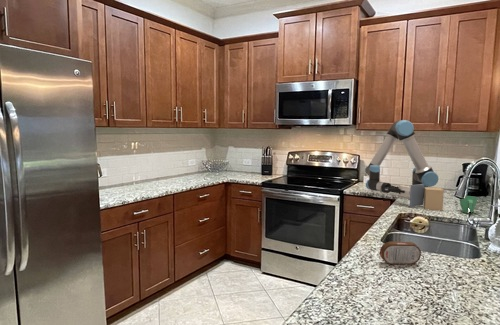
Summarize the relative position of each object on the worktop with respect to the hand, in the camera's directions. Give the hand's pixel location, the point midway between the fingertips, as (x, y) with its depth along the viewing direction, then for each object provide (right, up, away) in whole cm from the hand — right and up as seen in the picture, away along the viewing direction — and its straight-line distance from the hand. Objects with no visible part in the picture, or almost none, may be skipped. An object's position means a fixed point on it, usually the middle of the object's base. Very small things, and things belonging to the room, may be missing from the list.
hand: (411, 192), depth 226 cm
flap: (+1, -9, +4) cm, 10 cm away
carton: (+12, -10, -5) cm, 17 cm away
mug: (+28, -12, -17) cm, 34 cm away
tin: (-53, -19, -99) cm, 114 cm away
